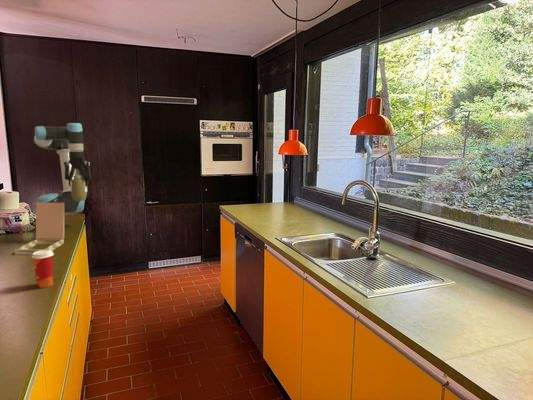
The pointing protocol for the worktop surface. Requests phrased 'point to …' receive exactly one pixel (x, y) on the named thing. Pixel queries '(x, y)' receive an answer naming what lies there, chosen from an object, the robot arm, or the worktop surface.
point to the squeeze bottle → (78, 187)
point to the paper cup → (43, 268)
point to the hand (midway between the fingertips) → (79, 191)
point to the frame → (25, 249)
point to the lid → (49, 220)
